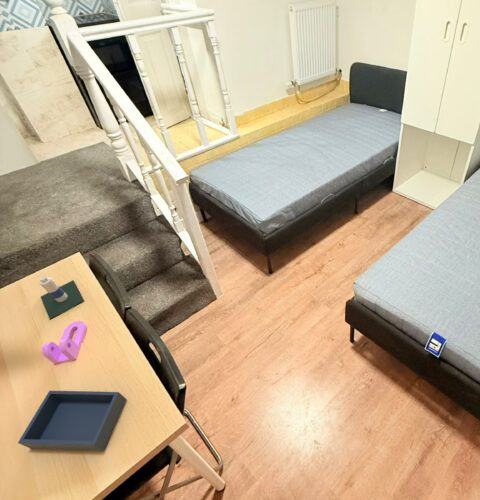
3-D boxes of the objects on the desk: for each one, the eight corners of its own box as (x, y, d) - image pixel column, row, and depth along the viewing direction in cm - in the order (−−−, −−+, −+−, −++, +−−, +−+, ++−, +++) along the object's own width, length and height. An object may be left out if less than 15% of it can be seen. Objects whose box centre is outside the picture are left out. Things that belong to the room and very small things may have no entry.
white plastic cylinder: (54, 301, 107) (33, 281, 100) (61, 293, 110) (41, 273, 103) (63, 302, 107) (43, 282, 100) (70, 294, 109) (51, 274, 102)
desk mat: (41, 297, 110) (40, 296, 109) (73, 281, 114) (73, 280, 114) (50, 319, 103) (49, 318, 103) (84, 301, 108) (83, 300, 107)
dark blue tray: (32, 449, 77) (17, 443, 74) (61, 398, 86) (49, 390, 82) (105, 451, 77) (94, 445, 73) (127, 400, 85) (118, 391, 81)
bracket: (77, 360, 93) (63, 348, 88) (55, 365, 92) (40, 352, 87) (89, 321, 102) (76, 308, 97) (69, 325, 101) (55, 312, 96)
